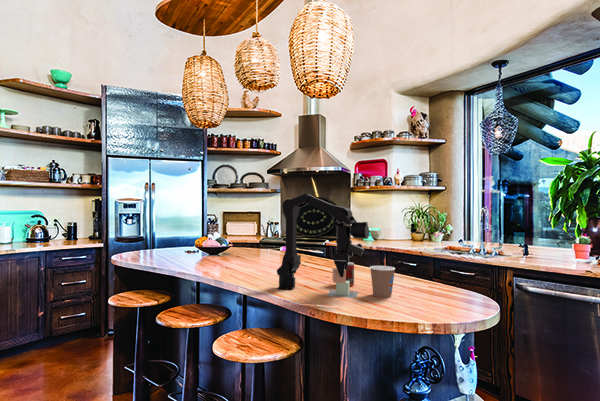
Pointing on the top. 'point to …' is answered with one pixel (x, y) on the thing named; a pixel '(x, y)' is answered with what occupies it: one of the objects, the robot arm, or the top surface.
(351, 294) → the baseplate
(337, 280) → the pinkish brown cube
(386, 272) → the coffee cup
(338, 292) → the brick green
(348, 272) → the canned food
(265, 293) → the top surface
